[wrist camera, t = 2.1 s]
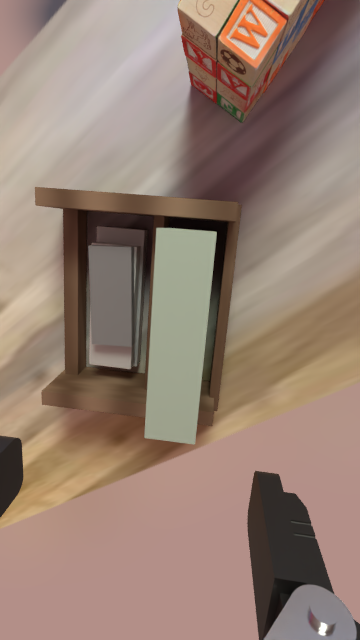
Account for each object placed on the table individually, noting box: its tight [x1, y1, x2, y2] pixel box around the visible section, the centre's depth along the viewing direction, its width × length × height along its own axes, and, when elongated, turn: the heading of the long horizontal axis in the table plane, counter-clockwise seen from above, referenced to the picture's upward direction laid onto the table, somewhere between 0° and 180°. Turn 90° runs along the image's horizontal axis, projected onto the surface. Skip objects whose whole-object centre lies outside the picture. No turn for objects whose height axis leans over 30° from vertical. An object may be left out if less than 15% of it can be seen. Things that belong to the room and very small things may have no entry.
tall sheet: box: [144, 228, 217, 445], centre depth 31 cm, size 4×16×14 cm, turn 175°
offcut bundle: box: [88, 226, 148, 369], centre depth 37 cm, size 5×15×5 cm, turn 175°
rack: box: [35, 187, 242, 426], centre depth 35 cm, size 18×21×7 cm
